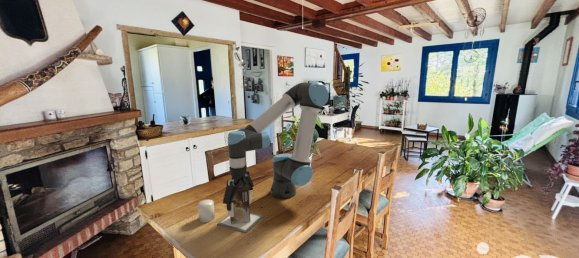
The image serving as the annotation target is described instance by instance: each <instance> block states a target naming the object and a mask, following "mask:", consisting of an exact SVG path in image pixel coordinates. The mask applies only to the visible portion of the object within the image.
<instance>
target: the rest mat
mask: <svg viewBox="0 0 579 258" xmlns="http://www.w3.org/2000/svg"><path fill="white" fill-rule="evenodd" d="M263 218H264V216H263V215H260V214H256V213H251V212H250V219H251V222H244V223H237V224H231V219H230V216H228V215H226V216H225V217H224V218H223V219H221V220H220V221H218V222H217V225H218V226H222V227H225V228H228V229H231V230H234V231H237V232H238V231H239V232H241V233H244V234H247V233H248V232H249V231H251V229H252V228H253V227H254V226H255V225H256V224H258V223H259V222H260V221H261V220H262V219H263Z"/></svg>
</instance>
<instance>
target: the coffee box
mask: <svg viewBox="0 0 579 258" xmlns="http://www.w3.org/2000/svg"><path fill="white" fill-rule="evenodd" d="M232 203H233V210H234V217H230V219H231V224H237V223H244V222H251V219H250V213H251V211H250V210H251V206H250V205H251V203H249V189H248V185H243V184H242V185H240V186H239V187H238V189H237V190H236V192H235V195H234V198H233V201H232Z"/></svg>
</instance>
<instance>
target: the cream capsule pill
mask: <svg viewBox="0 0 579 258" xmlns="http://www.w3.org/2000/svg"><path fill="white" fill-rule="evenodd" d="M214 202H215V201H214V200H212V199H203V200H201V201H199V202H198V203H197V207H198V210H197V211H198V221H199V222H201V223H204V224H206V223H211V222H212V221H214V220H215V217H216V216H215V205H214V204H215V203H214Z"/></svg>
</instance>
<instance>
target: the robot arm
mask: <svg viewBox="0 0 579 258" xmlns="http://www.w3.org/2000/svg"><path fill="white" fill-rule="evenodd" d="M329 94H330V93H329V90H328V89H327V86H326V85H325V84H323V83H321V82H299V83H296V84H295V85H293V86H292V87H290V88H289V89H287V91H285V92H284V93H283V94H282V96H281V98H280V99H279V100H277V101H276V102H275V103H273V104H272V105H271V106H270V107H269V108H267V109H266V110H265V111H264V112H263V113H261V114H260V115H258V117H256V118H255V119H254V120H252V121H251V122H250V123H249V124H248V125H246V126H245V127H241V128H238V129H237V130H234V131H233V130H232V131H230V132H229V133H228V134H227V146H228V161H229V162H228V164H229V175H230V176H231V179H227V180H226V185H225V190H224V196H223V200H222V204H224V205H226V210H227V216H230V217H234V210H233V203H232V201H233V198H234V195H235V192H236V190H237V189H238V187H239V186H240V185H248V189H249V204H251V203H252V191H253V190H254V185H255V184H254V183H253V180H252V178H251V176H250V175H251V174H250V171H248V168H247V152H252V151H257V150H263V149H267V148H269V147H270V145H271V136H270V135H269V133H267V132H265V130H266V129H268V128H269V127H270V126H272V124H274V123H275V122H277V120H279V119H280V118H281V117H282V116H283V115H284V114H286V113H287V112H288V111H289V110H291V109H295V108H296V107H297V106H299V108H300V110H301V112H300V115H299V121H298V126H297V131H296V136H295V141H294V145H293V151H292V153H279V154H276V155H274V156H273V157H272V176H273V177H272V183H271V185H270V195H271V196H273V198H278V199H289V198H293V197H294V196H296V195H297V187H304V186H306V185H307V184H308V183H310V182H311V180H312V178H313V175H314V171H313V168H312V166H311V159H310V153H311V148H312V142H313V138H314V132H315V127H316V125H317V124H316V122H317V118H318V113H320V112H321V111H322V108H323V107H324V106H325V105H326V104H327V103H328V102H329V101H328V100H329V96H330V95H329ZM296 186H297V187H296Z"/></svg>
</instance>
